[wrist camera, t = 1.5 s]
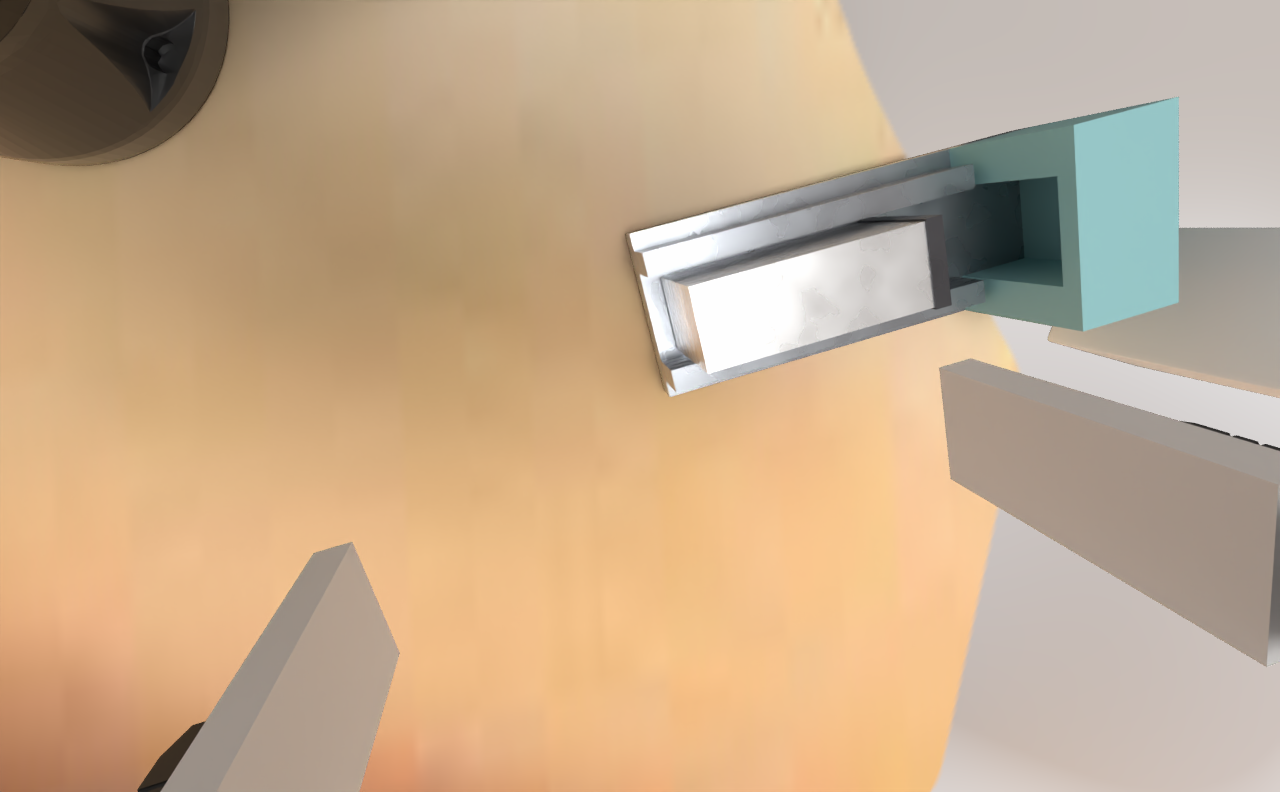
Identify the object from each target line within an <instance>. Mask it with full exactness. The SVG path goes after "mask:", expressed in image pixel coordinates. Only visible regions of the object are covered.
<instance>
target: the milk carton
mask: <svg viewBox="0 0 1280 792" xmlns="http://www.w3.org/2000/svg"><path fill="white" fill-rule="evenodd" d="M1048 341H1050V342H1053V343H1057V344H1060V345H1064V346H1068V347H1071V348H1075V349H1078V350H1082V351H1085V352H1089V353H1092V354H1096V355H1099V356H1103V357H1106V358H1110V359H1114V360H1117V361H1121V362H1124V363H1128V364H1132V365H1135V366H1139V367H1143V368H1148V369H1152V370H1157V371H1161V372H1165V373H1170V374H1174V375H1179V376H1183V377H1188V378H1193V379H1197V380H1201V381H1206V382H1210V383H1215V384H1219V385H1223V386H1228V387H1233V388H1237V389H1241V390H1246V391H1250V392H1255V393H1260V394H1264V395H1268V396H1273V397H1277V398H1280V228H1179V303H1176V304H1172V305H1169V306H1166V307H1162V308H1159V309H1156V310H1153V311H1149V312H1146V313H1143V314H1139V315H1136V316H1133V317H1130V318H1126V319H1123V320H1120V321H1116V322H1113V323H1110V324H1107V325H1103V326H1100V327H1097V328H1093V329H1090V330H1087V331H1084V332H1082V331H1077V330H1071V329H1066V328H1061V327H1055V326H1052V328H1051V331H1050V333H1049V336H1048Z"/></svg>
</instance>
